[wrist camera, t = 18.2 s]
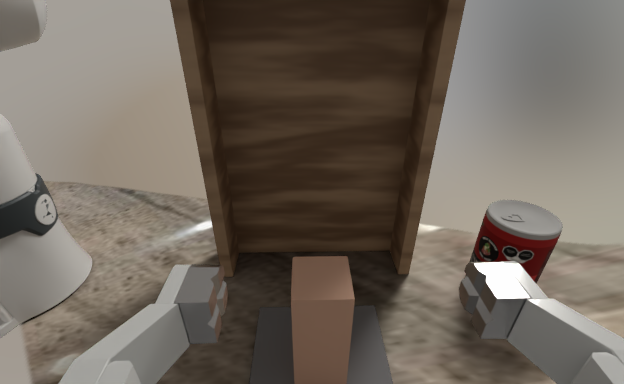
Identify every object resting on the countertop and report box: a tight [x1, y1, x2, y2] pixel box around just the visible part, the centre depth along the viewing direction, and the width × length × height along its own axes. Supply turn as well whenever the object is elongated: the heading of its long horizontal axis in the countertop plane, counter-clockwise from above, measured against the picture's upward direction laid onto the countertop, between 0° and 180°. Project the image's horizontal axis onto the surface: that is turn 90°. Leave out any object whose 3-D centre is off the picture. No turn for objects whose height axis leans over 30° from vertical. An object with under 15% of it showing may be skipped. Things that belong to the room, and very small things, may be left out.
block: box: [291, 256, 355, 384], centre depth 30 cm, size 5×5×12 cm
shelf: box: [170, 0, 466, 277], centre depth 36 cm, size 13×26×38 cm, turn 91°
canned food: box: [470, 200, 563, 283], centre depth 41 cm, size 8×8×11 cm
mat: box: [249, 306, 393, 384], centre depth 34 cm, size 14×14×1 cm
